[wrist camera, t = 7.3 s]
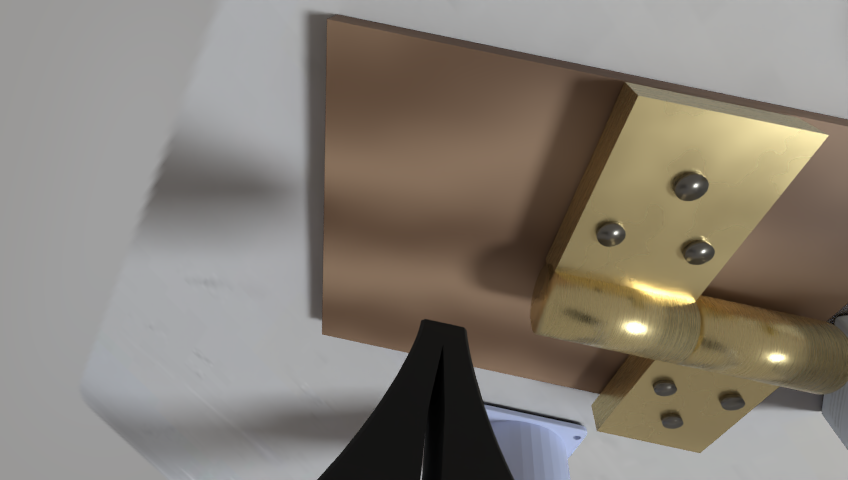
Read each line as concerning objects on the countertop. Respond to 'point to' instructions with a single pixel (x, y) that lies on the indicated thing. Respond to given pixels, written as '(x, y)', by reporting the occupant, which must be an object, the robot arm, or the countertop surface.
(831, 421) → the supplement box
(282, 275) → the countertop surface
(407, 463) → the robot arm
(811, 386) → the fixed leaf
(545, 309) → the plate
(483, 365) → the walnut board
